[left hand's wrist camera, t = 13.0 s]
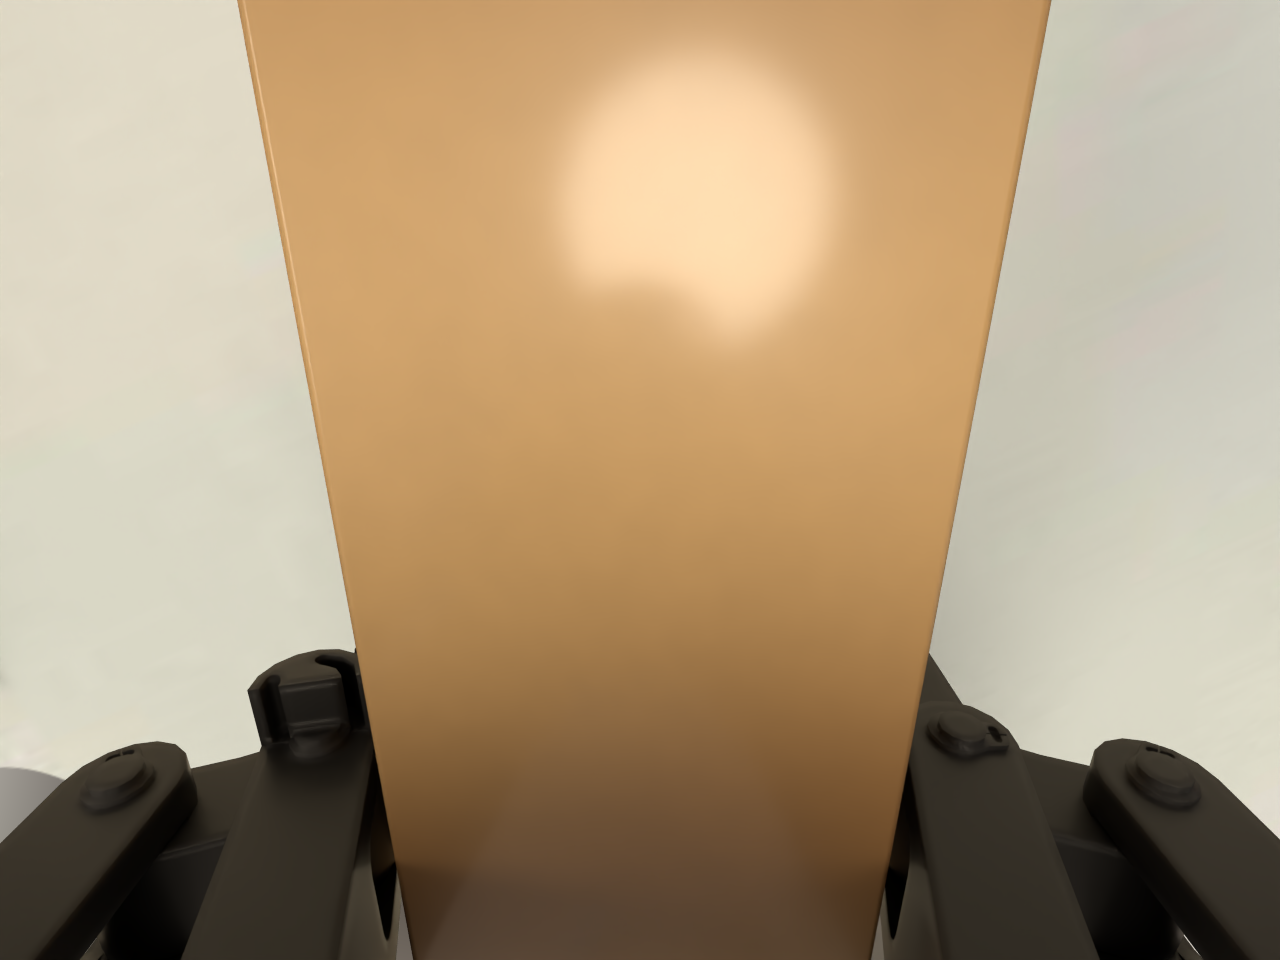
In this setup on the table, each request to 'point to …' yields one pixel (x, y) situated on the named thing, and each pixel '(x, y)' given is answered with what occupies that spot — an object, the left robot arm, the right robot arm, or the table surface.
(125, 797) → the left robot arm
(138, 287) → the table surface
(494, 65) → the bar
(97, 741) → the table surface
